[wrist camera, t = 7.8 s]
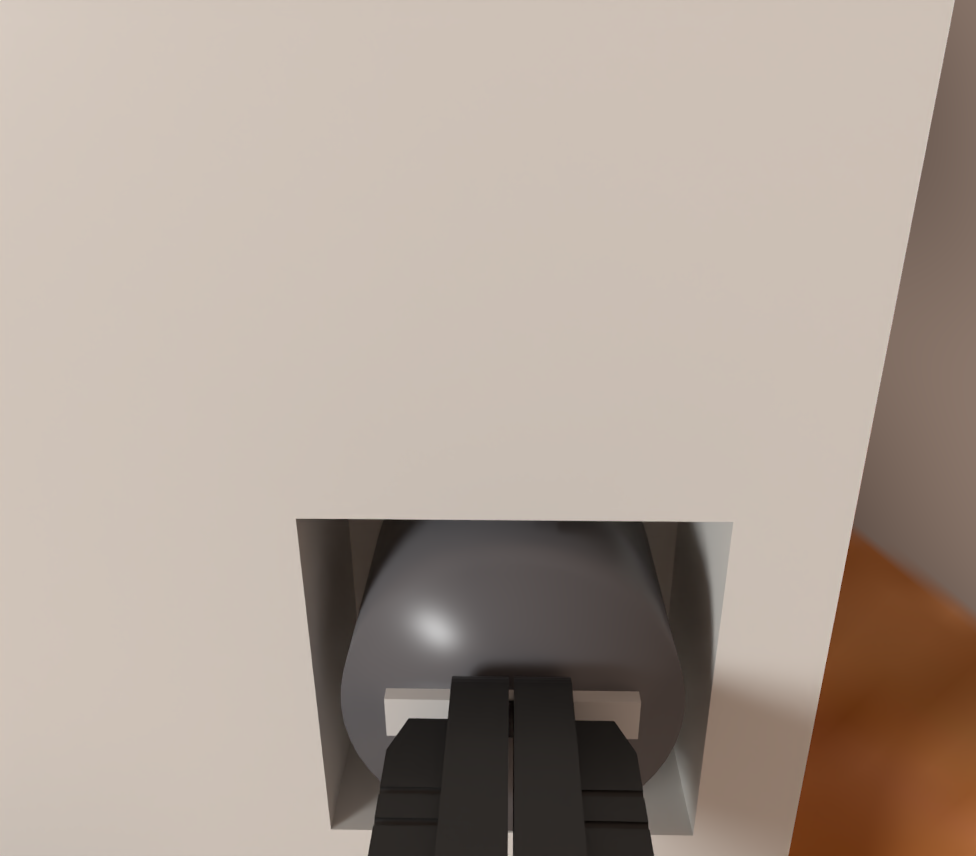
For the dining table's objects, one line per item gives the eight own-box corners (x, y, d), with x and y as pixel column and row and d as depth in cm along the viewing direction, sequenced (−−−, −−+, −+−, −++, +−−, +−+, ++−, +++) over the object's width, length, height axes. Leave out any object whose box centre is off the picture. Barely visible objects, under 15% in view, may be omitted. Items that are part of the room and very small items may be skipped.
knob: (366, 443, 13) (323, 570, 10) (660, 445, 13) (704, 575, 10) (383, 673, 15) (350, 840, 12) (640, 676, 15) (672, 845, 12)
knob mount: (-537, -243, 11) (-1055, -369, 7) (854, -263, 11) (1035, -408, 7) (-60, 939, 20) (-185, 1140, 17) (688, 954, 20) (728, 1165, 16)
